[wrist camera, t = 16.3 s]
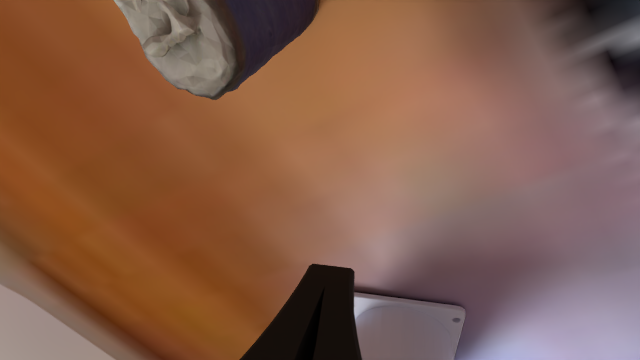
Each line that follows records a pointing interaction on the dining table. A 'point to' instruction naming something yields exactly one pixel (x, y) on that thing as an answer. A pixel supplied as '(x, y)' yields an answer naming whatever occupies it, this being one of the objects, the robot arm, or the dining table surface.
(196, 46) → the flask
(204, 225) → the dining table surface
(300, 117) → the dining table surface
